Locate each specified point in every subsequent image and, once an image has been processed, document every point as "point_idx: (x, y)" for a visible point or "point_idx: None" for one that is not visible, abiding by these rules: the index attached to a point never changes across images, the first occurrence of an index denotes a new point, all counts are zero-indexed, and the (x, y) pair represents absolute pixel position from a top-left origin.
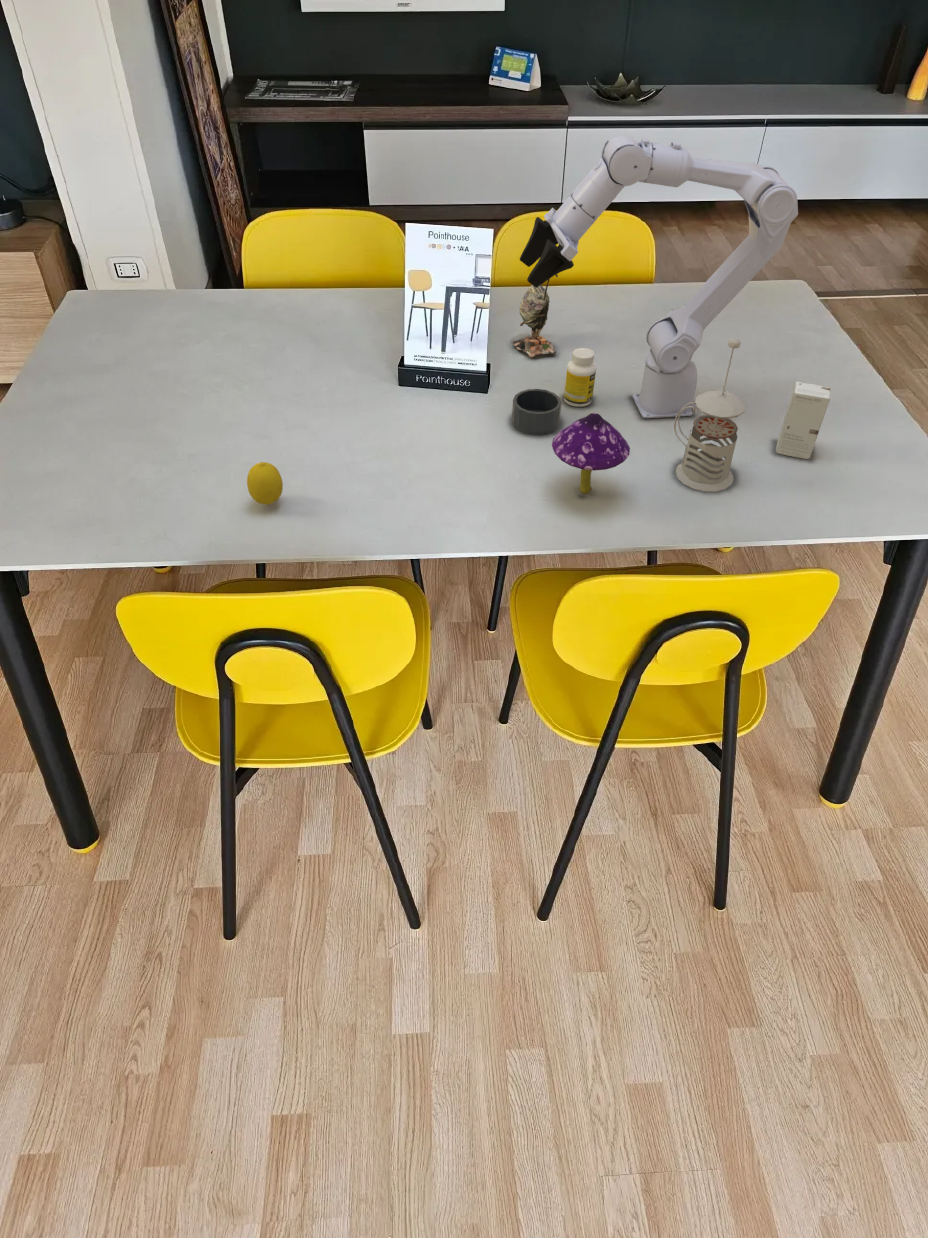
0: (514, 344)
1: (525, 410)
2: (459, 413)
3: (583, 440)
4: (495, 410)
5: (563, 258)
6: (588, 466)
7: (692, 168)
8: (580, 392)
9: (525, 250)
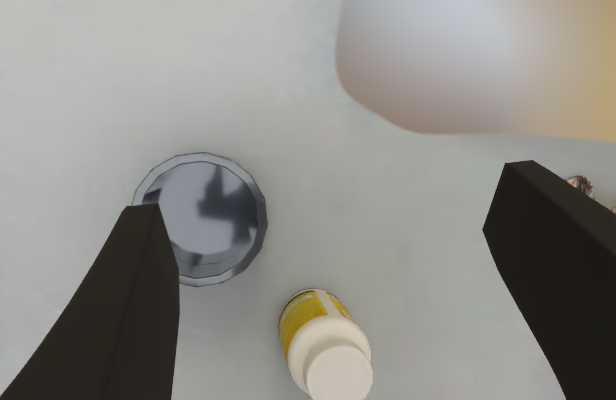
0: (572, 179)
1: (145, 184)
2: (245, 19)
3: None
4: (261, 114)
5: None
6: None
7: None
8: (281, 337)
9: (562, 212)
